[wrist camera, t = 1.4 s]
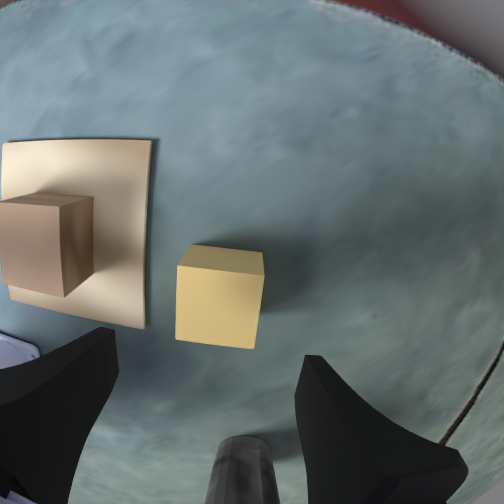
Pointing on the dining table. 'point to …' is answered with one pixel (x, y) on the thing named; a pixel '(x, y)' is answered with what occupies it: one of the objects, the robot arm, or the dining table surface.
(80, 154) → the build board
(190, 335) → the ochre block
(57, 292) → the walnut block
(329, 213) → the dining table surface
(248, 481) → the beverage cup
